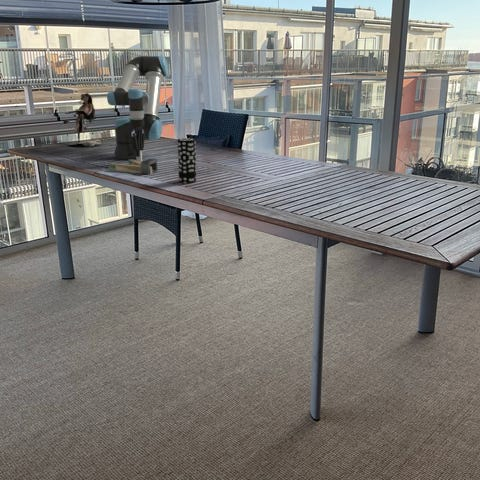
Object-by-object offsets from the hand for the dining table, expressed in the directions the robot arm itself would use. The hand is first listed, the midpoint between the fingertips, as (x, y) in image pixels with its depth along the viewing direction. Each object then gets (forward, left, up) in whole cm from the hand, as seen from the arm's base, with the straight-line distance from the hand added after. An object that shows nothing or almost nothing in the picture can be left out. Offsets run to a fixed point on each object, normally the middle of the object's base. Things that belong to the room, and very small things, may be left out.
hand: (139, 162), depth 285 cm
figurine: (-51, -70, -2) cm, 86 cm away
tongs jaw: (+10, +5, -2) cm, 11 cm away
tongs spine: (+17, +5, -2) cm, 18 cm away
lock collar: (+16, +15, -1) cm, 22 cm away
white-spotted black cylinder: (+28, +42, -2) cm, 51 cm away
